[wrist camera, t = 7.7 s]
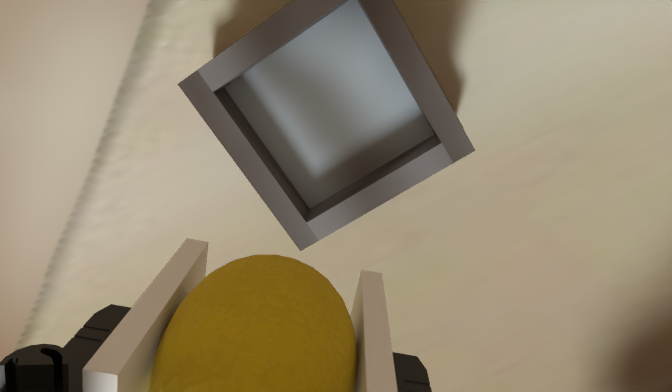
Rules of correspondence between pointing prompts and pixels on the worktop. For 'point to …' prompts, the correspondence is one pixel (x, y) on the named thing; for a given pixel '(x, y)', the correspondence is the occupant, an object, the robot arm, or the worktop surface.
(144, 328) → the robot arm
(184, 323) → the lemon
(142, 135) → the worktop surface
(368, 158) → the planter box
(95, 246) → the worktop surface
